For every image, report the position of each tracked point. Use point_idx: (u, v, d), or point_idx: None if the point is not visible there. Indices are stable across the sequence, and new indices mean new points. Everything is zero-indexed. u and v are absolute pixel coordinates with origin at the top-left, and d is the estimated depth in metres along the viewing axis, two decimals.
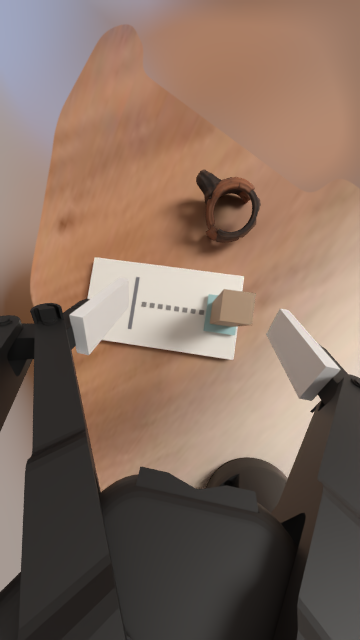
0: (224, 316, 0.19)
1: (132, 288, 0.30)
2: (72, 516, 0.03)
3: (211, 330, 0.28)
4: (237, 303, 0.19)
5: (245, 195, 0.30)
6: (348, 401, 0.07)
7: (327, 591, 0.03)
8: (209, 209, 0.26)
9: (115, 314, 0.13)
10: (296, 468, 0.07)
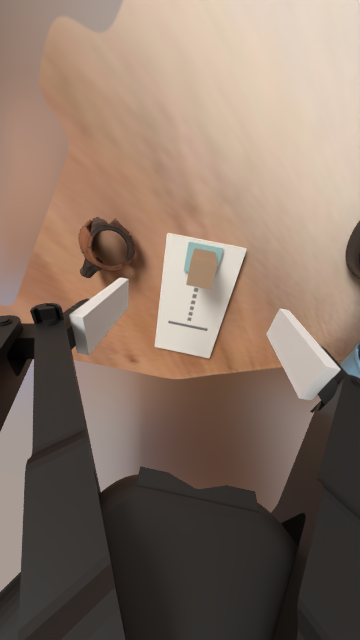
0: (208, 285, 0.24)
1: (176, 325, 0.40)
2: (73, 516, 0.03)
3: (216, 270, 0.32)
4: (198, 275, 0.23)
5: (88, 226, 0.31)
6: (348, 401, 0.07)
7: (327, 591, 0.03)
8: (112, 270, 0.31)
9: (115, 314, 0.13)
10: (296, 468, 0.07)
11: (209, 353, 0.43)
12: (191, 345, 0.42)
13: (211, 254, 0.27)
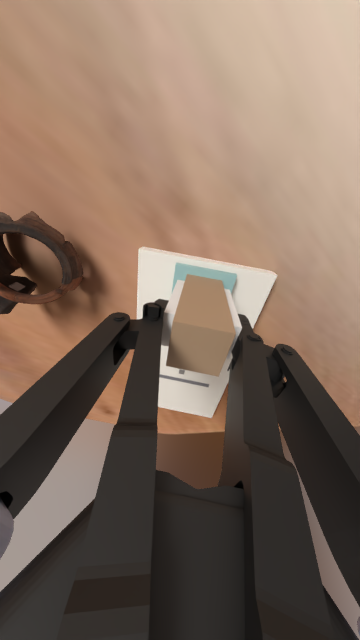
0: (212, 370, 0.11)
1: (163, 379, 0.27)
2: (132, 498, 0.04)
3: None
4: (190, 350, 0.10)
5: None
6: (249, 356, 0.09)
7: (272, 554, 0.03)
8: (38, 302, 0.18)
9: None
10: (227, 430, 0.07)
11: (211, 412, 0.30)
12: (185, 402, 0.29)
13: (217, 290, 0.15)
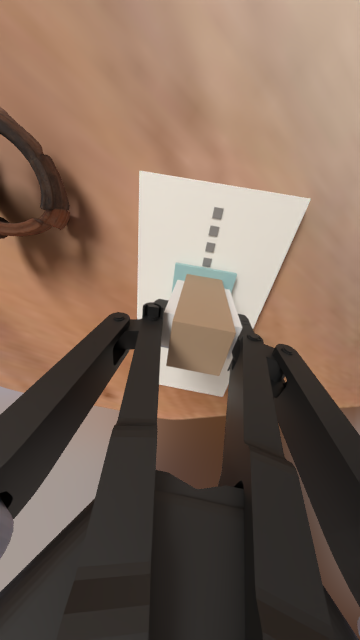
0: (213, 369, 0.11)
1: None
2: (132, 498, 0.04)
3: None
4: (191, 350, 0.10)
5: None
6: (249, 356, 0.09)
7: (272, 554, 0.03)
8: (11, 232, 0.14)
9: None
10: (228, 430, 0.07)
11: (223, 390, 0.27)
12: (193, 378, 0.26)
13: (216, 289, 0.15)
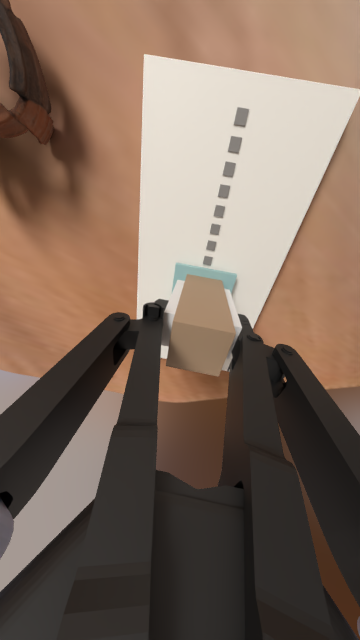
0: (212, 369, 0.11)
1: None
2: (132, 498, 0.04)
3: None
4: (190, 350, 0.10)
5: None
6: (249, 355, 0.09)
7: (272, 554, 0.03)
8: None
9: None
10: (227, 430, 0.07)
11: None
12: None
13: (217, 290, 0.15)
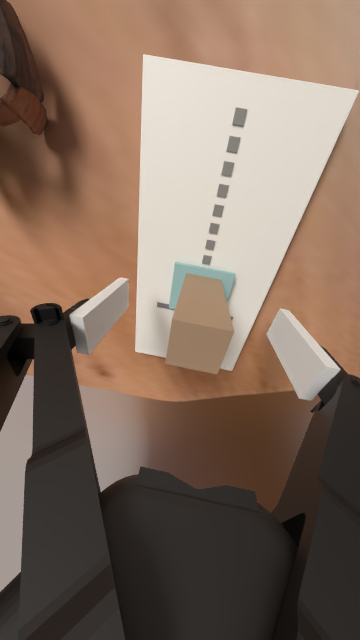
0: (211, 367, 0.11)
1: (173, 312, 0.21)
2: (73, 516, 0.03)
3: None
4: (189, 348, 0.11)
5: None
6: (348, 401, 0.07)
7: (327, 591, 0.03)
8: None
9: (115, 314, 0.13)
10: (296, 468, 0.07)
11: (232, 362, 0.24)
12: None
13: (215, 289, 0.15)
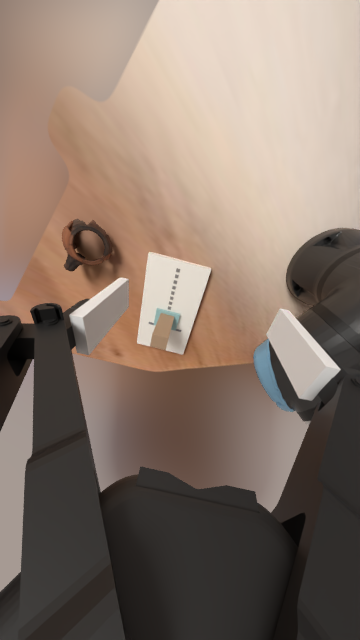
0: (163, 348, 0.38)
1: None
2: (73, 516, 0.03)
3: (175, 326, 0.46)
4: (157, 342, 0.37)
5: (70, 226, 0.36)
6: (348, 401, 0.07)
7: (327, 590, 0.03)
8: (91, 264, 0.36)
9: (115, 314, 0.13)
10: (296, 468, 0.07)
11: (183, 350, 0.51)
12: (167, 343, 0.50)
13: (169, 322, 0.41)
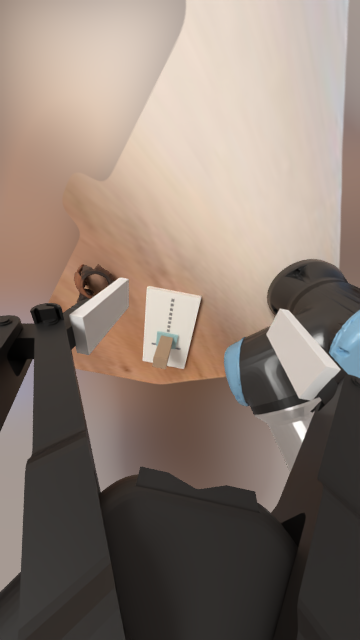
0: (164, 367, 0.44)
1: None
2: (73, 516, 0.03)
3: (175, 346, 0.52)
4: (158, 363, 0.44)
5: (80, 269, 0.44)
6: (348, 401, 0.07)
7: (327, 590, 0.03)
8: None
9: (115, 314, 0.13)
10: (296, 468, 0.07)
11: (183, 365, 0.57)
12: (169, 359, 0.56)
13: (168, 343, 0.48)
